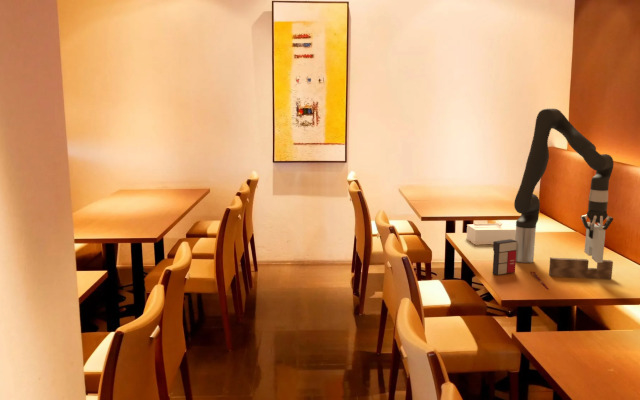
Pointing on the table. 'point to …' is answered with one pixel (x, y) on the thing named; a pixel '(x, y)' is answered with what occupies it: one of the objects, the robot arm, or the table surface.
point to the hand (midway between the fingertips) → (594, 238)
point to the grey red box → (504, 256)
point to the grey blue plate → (595, 243)
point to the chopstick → (538, 279)
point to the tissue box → (490, 232)
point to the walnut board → (579, 268)
